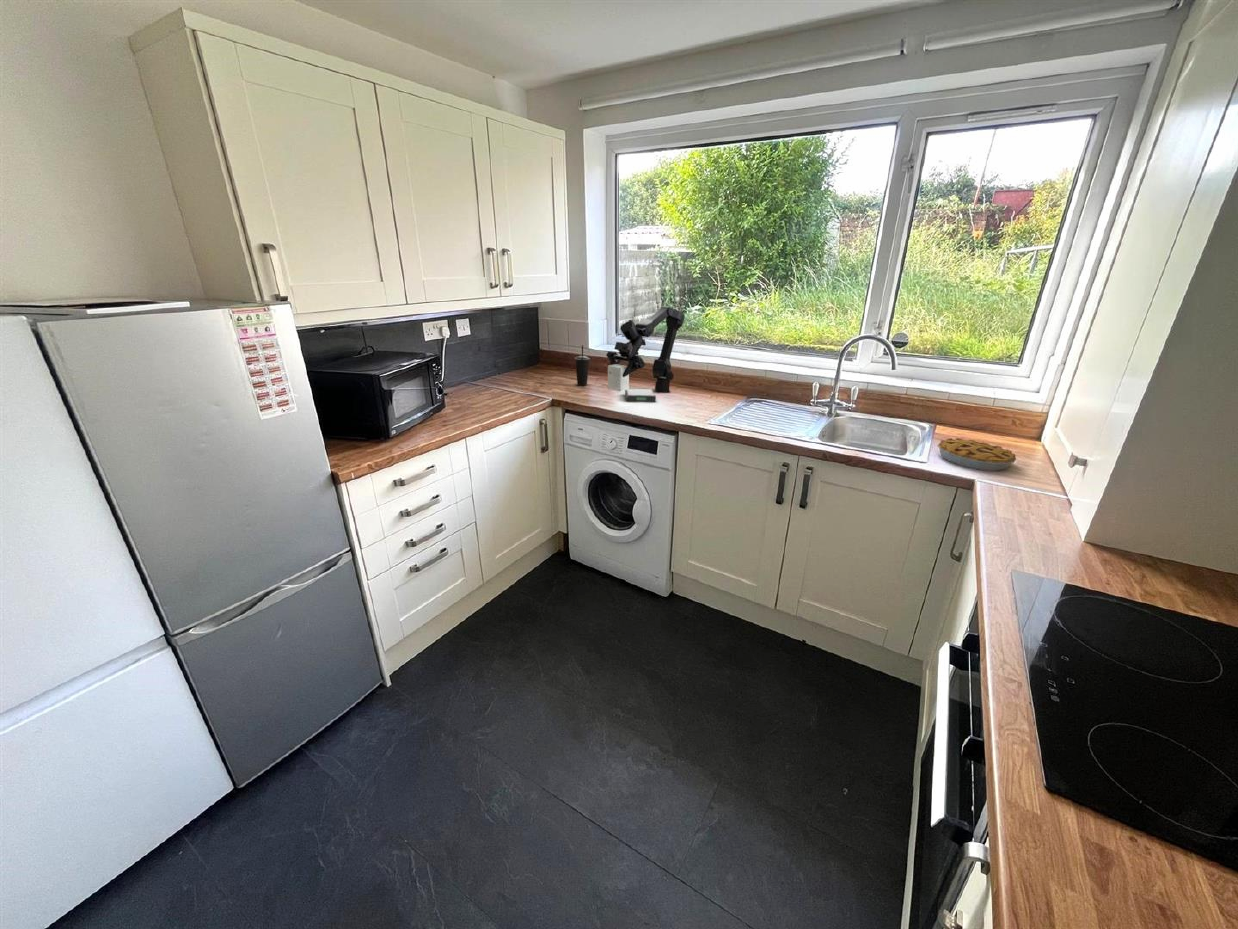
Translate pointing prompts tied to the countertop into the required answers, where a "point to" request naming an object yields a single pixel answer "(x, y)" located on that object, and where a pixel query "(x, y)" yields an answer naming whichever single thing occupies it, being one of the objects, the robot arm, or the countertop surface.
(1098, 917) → the countertop surface
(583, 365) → the drinking cup
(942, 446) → the pie
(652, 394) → the kitchen scale
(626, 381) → the small box
